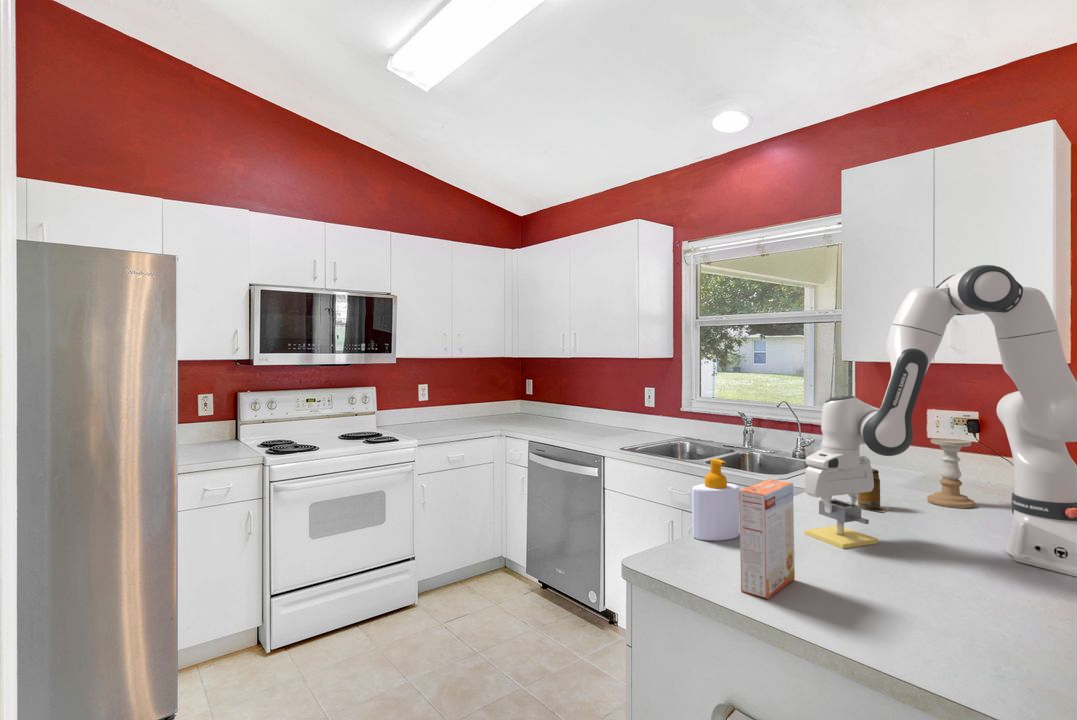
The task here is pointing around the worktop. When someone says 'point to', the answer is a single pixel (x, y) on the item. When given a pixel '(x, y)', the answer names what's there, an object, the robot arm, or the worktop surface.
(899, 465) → the worktop surface
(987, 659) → the worktop surface
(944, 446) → the candle holder
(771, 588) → the cracker box
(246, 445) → the worktop surface
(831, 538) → the keeper
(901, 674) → the worktop surface
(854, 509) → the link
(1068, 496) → the robot arm
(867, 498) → the condiment
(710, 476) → the soap bottle
